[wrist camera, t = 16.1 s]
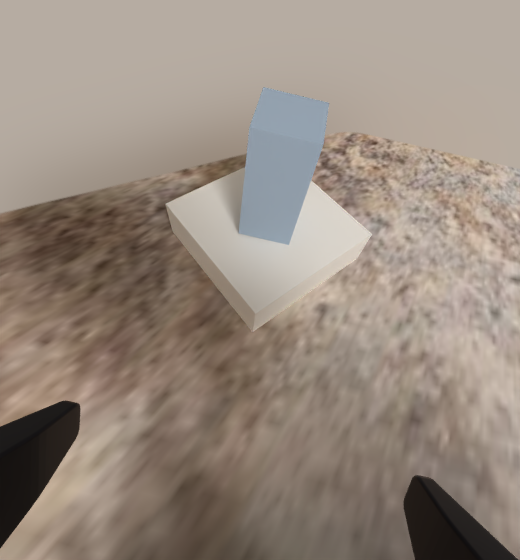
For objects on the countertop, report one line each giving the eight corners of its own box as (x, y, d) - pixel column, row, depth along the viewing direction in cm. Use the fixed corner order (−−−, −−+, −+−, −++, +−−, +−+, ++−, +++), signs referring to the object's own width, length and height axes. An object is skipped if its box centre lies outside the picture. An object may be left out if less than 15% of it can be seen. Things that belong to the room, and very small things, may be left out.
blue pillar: (295, 207, 26) (329, 102, 19) (288, 245, 24) (323, 144, 17) (249, 196, 26) (263, 87, 19) (238, 233, 24) (249, 127, 17)
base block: (355, 261, 29) (371, 234, 26) (252, 334, 25) (255, 313, 21) (273, 183, 33) (278, 151, 30) (173, 234, 29) (165, 203, 26)
